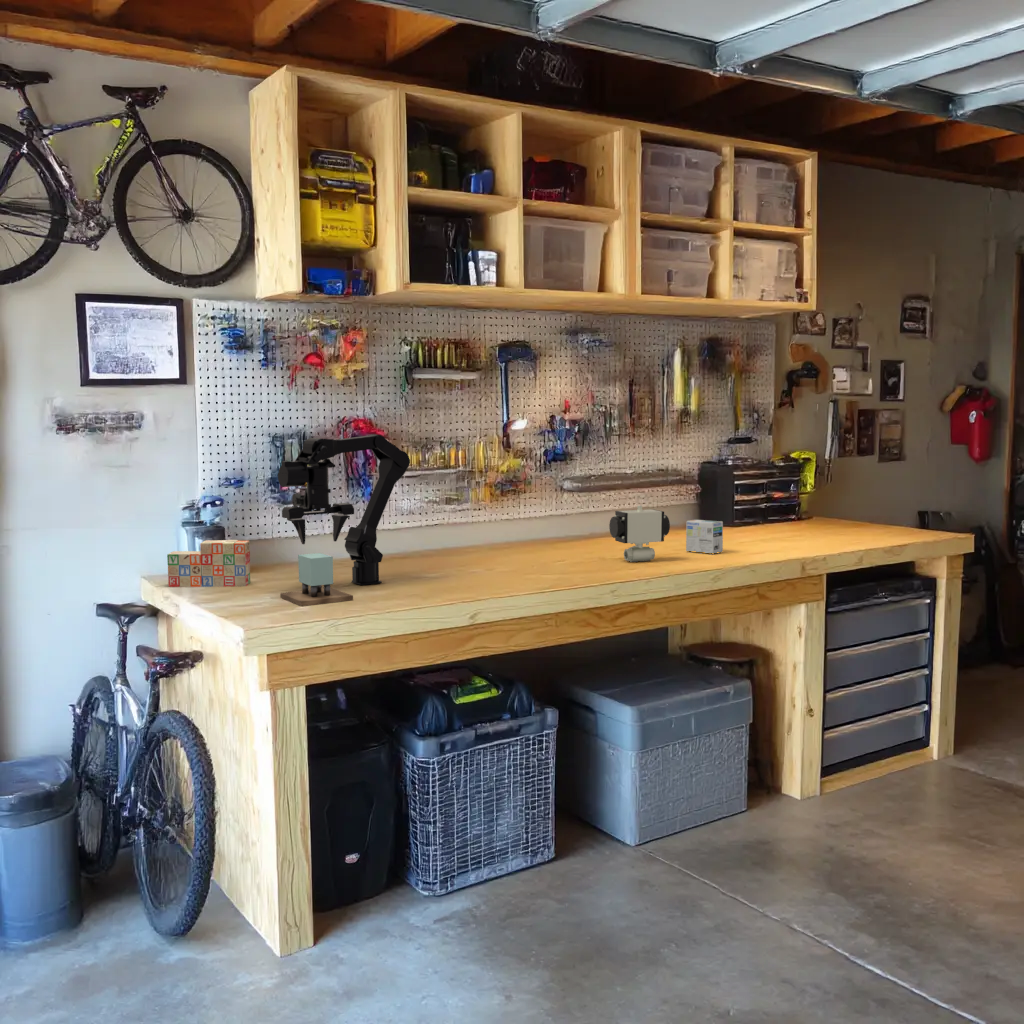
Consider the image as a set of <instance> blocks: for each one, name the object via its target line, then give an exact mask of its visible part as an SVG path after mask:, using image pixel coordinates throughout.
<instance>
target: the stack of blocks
mask: <svg viewBox="0 0 1024 1024" xmlns="http://www.w3.org/2000/svg"><path fill="white" fill-rule="evenodd" d="M199 545H200V546H199V547H200V550H197V551H196V550H188V551H187V550H183V551H182V550H177V551H175V550H174V551H171V552H170V553H167V557H166V558H167V576H168V578H167V579H168V580H167V581H168V588H173V587H174V588H176V587H177V588H178V587H180V588H184V587H185V588H187V587H188V588H191V587H193V588H194V587H195V588H196V587H197V588H202V587H203V588H204V587H205V588H207V587H213V588H214V587H247V586H248V585H249V584H251V550H250V549H251V548H250V540H238V539H226V540H225V539H223V540H222V539H221V540H215V539H213V540H212V539H211V540H208V539H207V540H204V541H202V542H200V544H199Z"/></svg>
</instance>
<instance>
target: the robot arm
mask: <svg viewBox="0 0 1024 1024" xmlns="http://www.w3.org/2000/svg"><path fill="white" fill-rule="evenodd" d="M368 450H371V452H372V454H373V455H374V457H375V458H376V459H377V460H378V461H379V464H378V479H377V482H376V484H375V486H374V489H373V491H372V494H371V496H370V498H369V500H368V503H367V506H366V507H365V510H364V512H363V515H362V517H361V520H360V522H359V523H358V525H357V526H350V527H349V529H348V533H347V535H346V536H345V538H344V541H345V543H344V548H345V551H346V553H347V554H349V557H350V560H351V561H353V566H352V569H351V571H352V572H351V573H352V574H351V575H352V576H351V577H352V580H351V583H353V584H356V585H359V586H366V585H368V586H369V585H375V584H381V583H382V580H380V568H379V567H380V563H382V560H383V558H384V557H383V556H384V555H383V553H382V552H381V551H380V550H379V549H378V548H377V547H376V545H377V541H378V537H377V528H378V526H379V523H380V522H381V518H382V517H383V514H384V511H385V509H386V506H387V504H388V501H389V499H390V496H391V494H392V492H393V489H394V488H395V486H396V483H397V482H398V481H399V480H400V479H401V478H402V477H403V476H404V475H405V474H406V471H407V470H408V468H409V466H410V464H411V459H410V457H409V454H408V453H407V452H406V451H404V450H401V449H400V448H399V447H397V446H396V445H394V444H393V443H392V442H390V441H388V440H387V439H386V438H385V437H384V436H383V435H381V434H369V435H364V436H355V437H354V436H353V437H346V438H340V439H339V438H337V439H330V438H318V437H317V438H316V437H310V438H309V437H308V438H307V439H305V441H304V442H303V444H302V449H301V450H300V452H299V454H298V455H297V457H296V459H295V460H293V461H287V460H282V461H281V466H280V467H279V469H278V473H277V480H278V483H279V485H280V487H282V488H291V487H304V486H305V485H306V488H305V489H304V495H302V494H301V493H293V494H292V499H291V500H292V505H293V506H284V507H283V508H282V510H281V518H283V519H286V521H287V522H288V521H289V522H291V523H292V524H293V526H294V528H295V530H296V532H297V534H298V537H299V540H300V542H301V545H305V544H306V519H304V518H303V517H304V516H311V515H313V516H314V515H323V514H325V515H327V514H331V518H332V521H333V523H332V525H333V526H332V538H333V542H337V541H338V539H339V536H340V533H341V532H342V528H343V527H344V525H345V523H346V521H347V519H350V517H351V516H350V515H355V506H354V505H353V504H352V503H347V502H339V503H333V504H332V503H331V504H330V497H329V496H330V494H331V493H332V490H331V488H329V486H330V485H329V469H330V468H333V469H334V468H336V464H335V463H334V462H332V461H331V459H330V458H333V457H336V456H337V455H341V454H342V453H343V454H344V453H352V452H361V451H368Z"/></svg>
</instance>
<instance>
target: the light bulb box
mask: <svg viewBox="0 0 1024 1024" xmlns="http://www.w3.org/2000/svg"><path fill="white" fill-rule="evenodd" d="M685 526H686V527H685V529H686V531H685V533H686V534H685V535H686V536H685V537H686V540H685V542H686V543H685V552H686V551H696V552H705V553H717V552H722V551H723V552H724V550H723V549H724V548H723V547H724V545H723V544H724V543H723V542H724V540H723V539H724V538H723V537H724V531H723V530H724V522H723V521H722V520H720V521H719V520H718V521H717V520H707V519H705V520H704V519H691V520H686V525H685ZM723 552H722V553H723Z"/></svg>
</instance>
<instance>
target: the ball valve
mask: <svg viewBox="0 0 1024 1024" xmlns="http://www.w3.org/2000/svg"><path fill="white" fill-rule="evenodd" d="M614 511H615V515H614V516H612V517H610V521H609V524H608V525H609V526H608V527H609V532H610V535H611V537H612V538H613V539H615V540H614V541H616V542H618V543H622V544H631V545H633V544H634V545H633V546H630V547H628V548H625V549H624V551H623V558H624V560H625V561H628V562H629V561H630V562H629V563H635V562H636V563H637V562H638V561H640V562H650V561H651V560H654V559H655V556H656V552H655V549H654V548H653V547H650V546H648V545H649V544H650V543H658V542H659V543H660V542H665V537H666V536H668V535H669V532H670V530H671V529H670V528H671V526H670V525H671V523H670V519H669V516H668V515H666V514H665V511H662V510H657V509H643V506H642V505H637V509H634V510H633V509H629V510H614ZM644 544H645V545H646V546H644ZM638 563H639V562H638Z"/></svg>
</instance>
